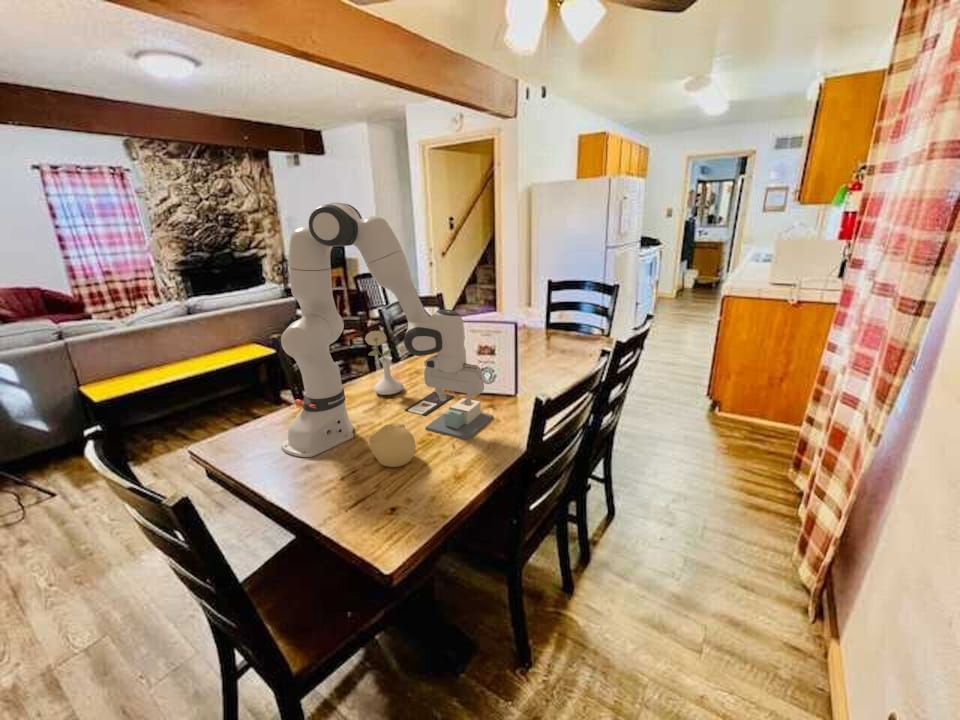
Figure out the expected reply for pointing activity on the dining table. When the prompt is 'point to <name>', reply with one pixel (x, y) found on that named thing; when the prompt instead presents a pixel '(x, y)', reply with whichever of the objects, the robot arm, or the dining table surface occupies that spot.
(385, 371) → the flower in vase
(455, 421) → the stub
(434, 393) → the chocolate bar
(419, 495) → the dining table surface
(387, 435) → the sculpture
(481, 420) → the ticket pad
